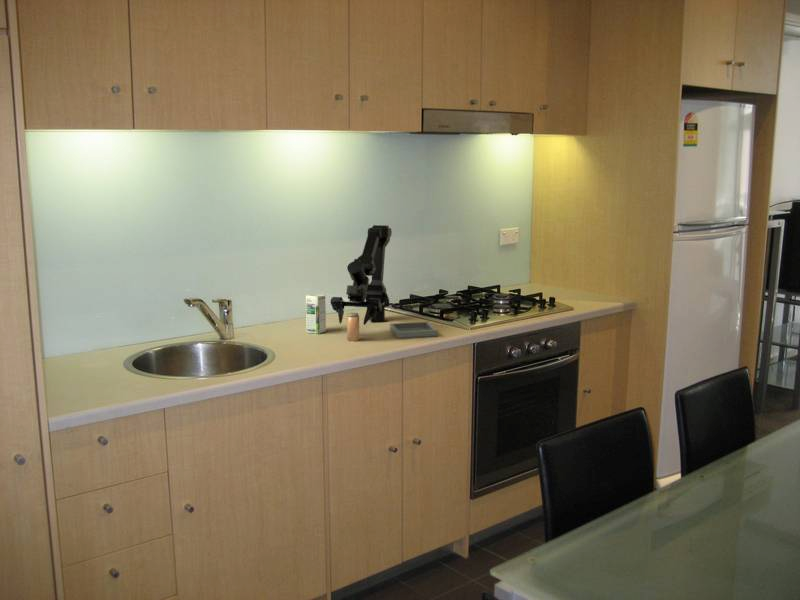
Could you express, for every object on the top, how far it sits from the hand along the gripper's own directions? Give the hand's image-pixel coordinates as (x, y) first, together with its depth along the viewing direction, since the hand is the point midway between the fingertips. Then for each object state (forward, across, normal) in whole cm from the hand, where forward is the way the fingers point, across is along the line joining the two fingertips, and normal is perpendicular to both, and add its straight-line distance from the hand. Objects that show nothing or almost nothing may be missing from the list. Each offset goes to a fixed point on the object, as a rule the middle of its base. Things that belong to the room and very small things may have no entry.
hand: (352, 323), depth 292 cm
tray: (-7, +20, +16) cm, 26 cm away
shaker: (+4, 0, +6) cm, 7 cm away
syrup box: (-3, -18, +12) cm, 22 cm away
